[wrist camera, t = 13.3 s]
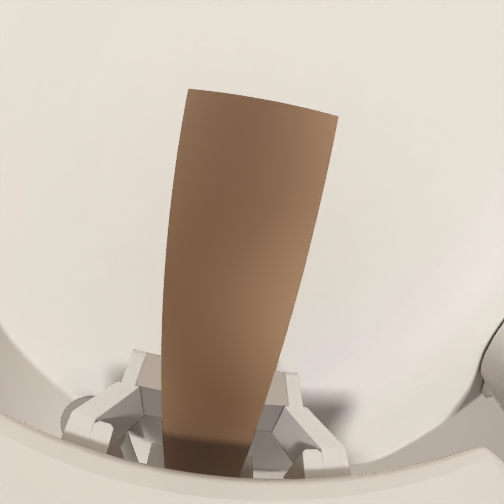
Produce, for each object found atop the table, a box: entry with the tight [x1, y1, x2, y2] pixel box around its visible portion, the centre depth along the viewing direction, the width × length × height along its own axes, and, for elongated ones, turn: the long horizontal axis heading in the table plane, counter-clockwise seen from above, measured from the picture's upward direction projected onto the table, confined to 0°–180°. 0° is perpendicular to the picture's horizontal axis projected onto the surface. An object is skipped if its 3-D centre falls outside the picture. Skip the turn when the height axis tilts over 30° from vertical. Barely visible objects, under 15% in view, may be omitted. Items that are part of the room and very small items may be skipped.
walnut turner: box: [147, 89, 338, 478], centre depth 10 cm, size 6×19×5 cm, turn 170°
